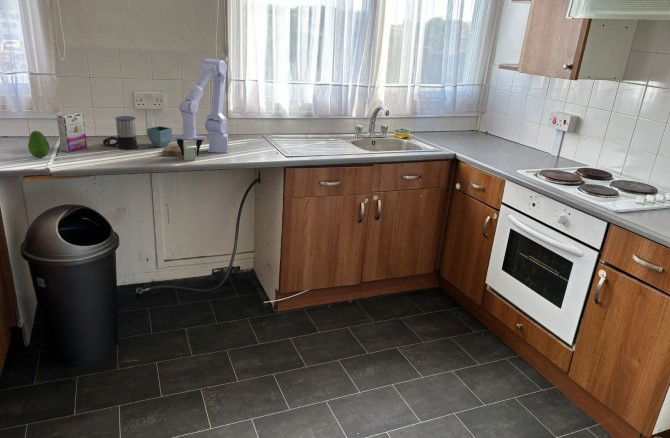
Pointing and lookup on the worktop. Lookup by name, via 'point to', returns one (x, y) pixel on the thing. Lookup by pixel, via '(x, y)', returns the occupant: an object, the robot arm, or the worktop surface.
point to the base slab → (172, 151)
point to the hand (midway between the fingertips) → (190, 155)
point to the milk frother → (124, 133)
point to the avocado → (38, 144)
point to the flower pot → (159, 136)
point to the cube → (190, 153)
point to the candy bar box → (71, 132)
